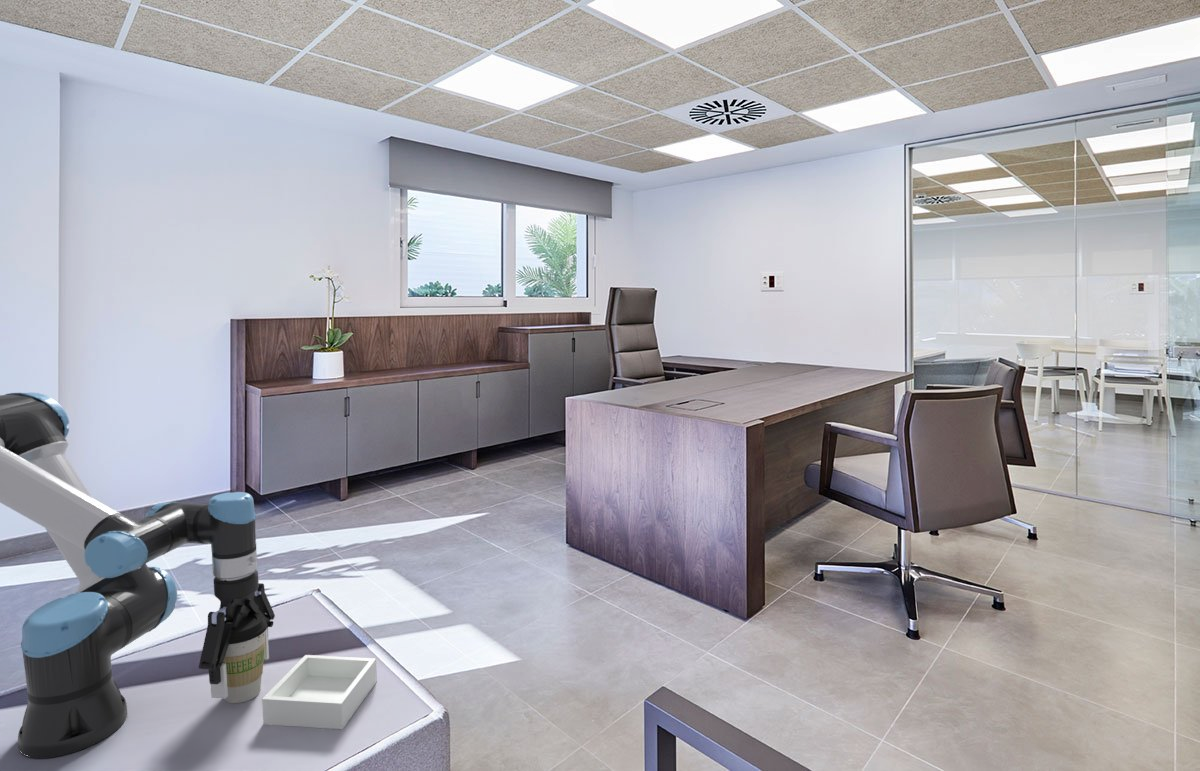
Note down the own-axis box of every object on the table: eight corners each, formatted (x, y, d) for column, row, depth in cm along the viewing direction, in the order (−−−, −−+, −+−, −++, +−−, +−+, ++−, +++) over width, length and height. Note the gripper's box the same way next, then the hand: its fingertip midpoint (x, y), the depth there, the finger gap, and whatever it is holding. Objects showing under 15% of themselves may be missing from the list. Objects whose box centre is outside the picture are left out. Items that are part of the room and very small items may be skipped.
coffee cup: (246, 712, 120) (241, 637, 119) (201, 705, 122) (196, 631, 120) (281, 682, 130) (278, 613, 128) (239, 676, 132) (235, 607, 130)
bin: (263, 724, 117) (262, 698, 116) (306, 677, 132) (305, 654, 131) (342, 729, 116) (341, 703, 115) (376, 681, 131) (376, 658, 130)
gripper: (211, 603, 111) (218, 717, 113) (289, 550, 135) (294, 645, 138) (170, 601, 111) (178, 715, 114) (255, 548, 136) (260, 643, 138)
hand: (241, 676), depth 126 cm, fingers open, 12 cm apart
